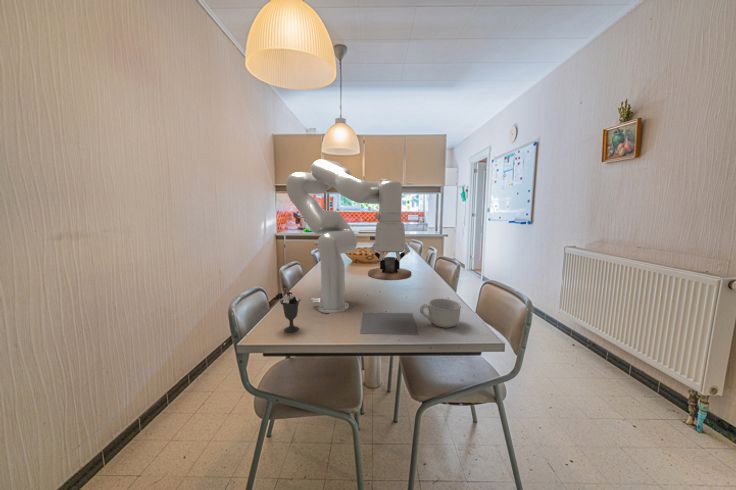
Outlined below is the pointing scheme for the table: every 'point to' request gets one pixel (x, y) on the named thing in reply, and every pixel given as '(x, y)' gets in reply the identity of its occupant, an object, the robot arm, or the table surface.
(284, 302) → the sundae
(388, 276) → the lid
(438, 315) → the teacup
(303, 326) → the table surface
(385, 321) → the mat
